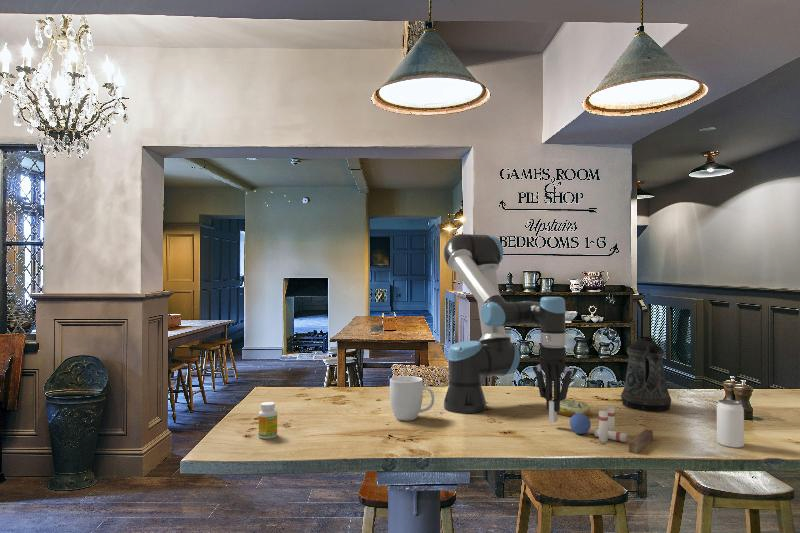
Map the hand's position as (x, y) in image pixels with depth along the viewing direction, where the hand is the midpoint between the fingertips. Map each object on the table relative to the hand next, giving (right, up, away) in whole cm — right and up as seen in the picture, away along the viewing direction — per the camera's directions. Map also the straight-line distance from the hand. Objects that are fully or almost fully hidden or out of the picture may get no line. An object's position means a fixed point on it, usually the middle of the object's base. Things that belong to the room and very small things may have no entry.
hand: (553, 421), depth 163 cm
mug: (-45, -2, +10) cm, 46 cm away
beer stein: (+42, -3, +25) cm, 49 cm away
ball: (+6, +1, -6) cm, 9 cm away
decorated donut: (+11, -3, +17) cm, 20 cm away
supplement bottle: (-87, -2, -9) cm, 88 cm away
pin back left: (+15, -2, -8) cm, 17 cm away
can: (+45, -2, -16) cm, 48 cm away
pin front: (+10, -1, -9) cm, 13 cm away
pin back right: (+11, -2, -13) cm, 17 cm away
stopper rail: (+20, -2, -17) cm, 26 cm away
